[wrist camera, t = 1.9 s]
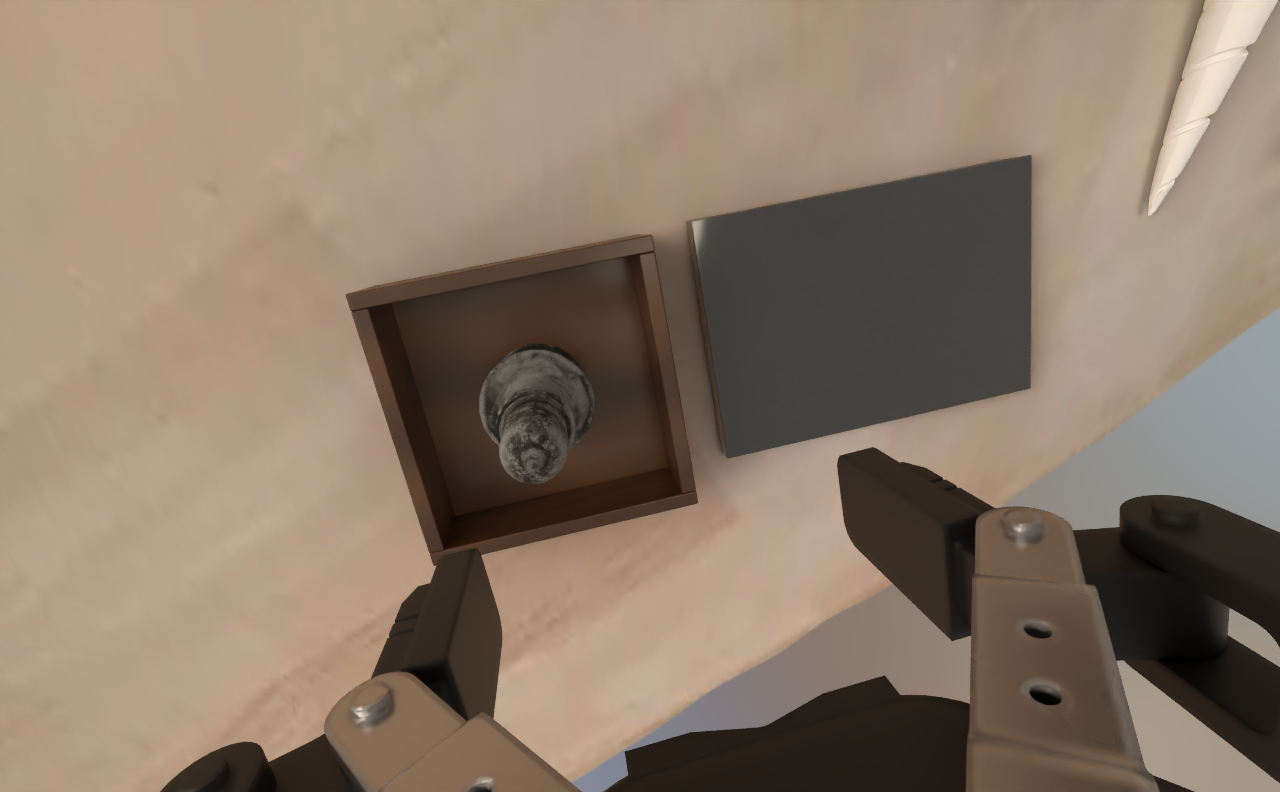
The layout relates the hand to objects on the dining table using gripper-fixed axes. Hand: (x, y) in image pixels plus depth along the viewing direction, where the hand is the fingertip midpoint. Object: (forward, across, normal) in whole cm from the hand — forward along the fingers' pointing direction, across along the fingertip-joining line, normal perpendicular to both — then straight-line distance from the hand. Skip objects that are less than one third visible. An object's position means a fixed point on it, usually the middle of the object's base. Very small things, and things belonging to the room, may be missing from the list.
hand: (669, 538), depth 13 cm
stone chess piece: (+22, +3, +1) cm, 22 cm away
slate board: (+22, -17, +1) cm, 28 cm away
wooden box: (+22, +3, +1) cm, 23 cm away
